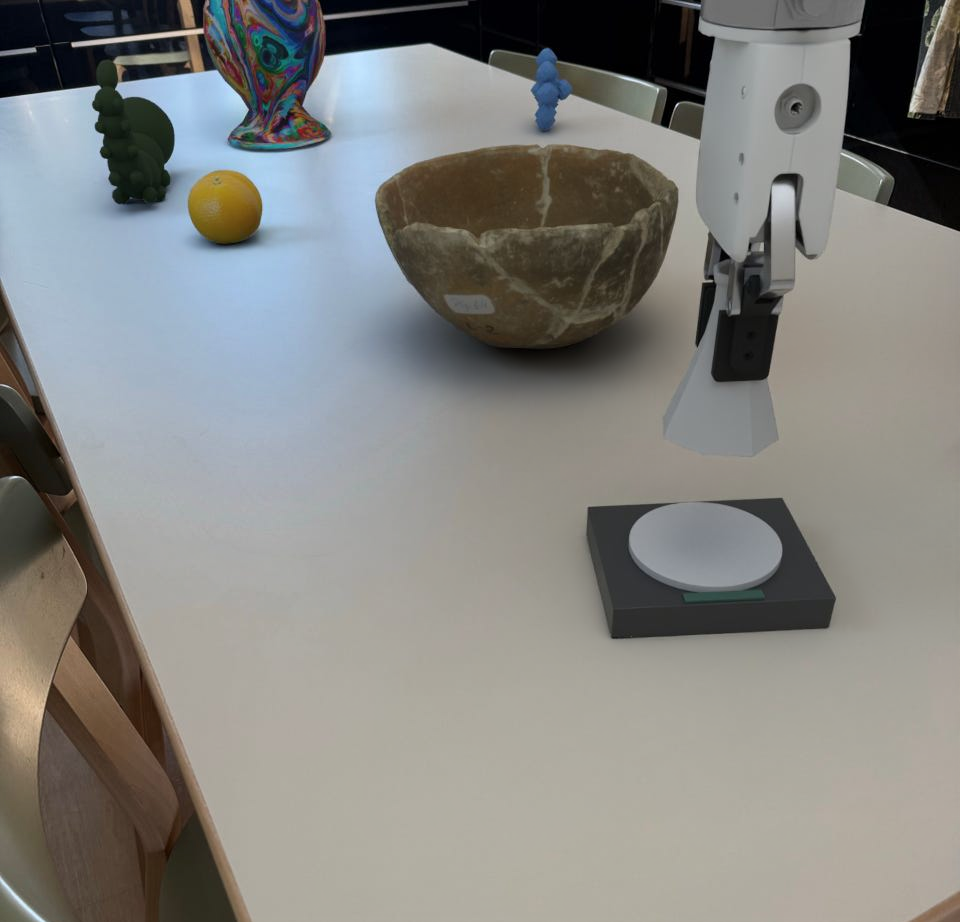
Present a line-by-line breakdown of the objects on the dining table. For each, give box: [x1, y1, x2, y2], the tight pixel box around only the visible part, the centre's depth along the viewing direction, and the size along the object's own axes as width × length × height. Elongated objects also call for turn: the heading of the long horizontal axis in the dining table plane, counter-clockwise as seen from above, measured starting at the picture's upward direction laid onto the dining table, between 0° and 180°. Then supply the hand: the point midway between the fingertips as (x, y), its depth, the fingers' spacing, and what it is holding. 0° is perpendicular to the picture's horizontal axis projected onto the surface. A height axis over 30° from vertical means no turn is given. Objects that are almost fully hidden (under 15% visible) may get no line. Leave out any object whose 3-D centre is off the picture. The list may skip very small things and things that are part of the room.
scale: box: [585, 497, 837, 639], centre depth 68 cm, size 14×12×3 cm
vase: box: [202, 0, 332, 150], centre depth 155 cm, size 18×18×30 cm
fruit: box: [187, 169, 264, 245], centre depth 124 cm, size 9×8×8 cm
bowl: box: [374, 143, 680, 350], centre depth 96 cm, size 28×27×15 cm
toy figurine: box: [91, 59, 176, 205], centre depth 137 cm, size 9×19×25 cm
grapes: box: [530, 47, 574, 132], centre depth 161 cm, size 12×7×12 cm, turn 179°
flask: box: [662, 259, 780, 458], centre depth 59 cm, size 7×7×10 cm
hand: (730, 360), depth 59 cm, fingers closed on flask, 3 cm apart
